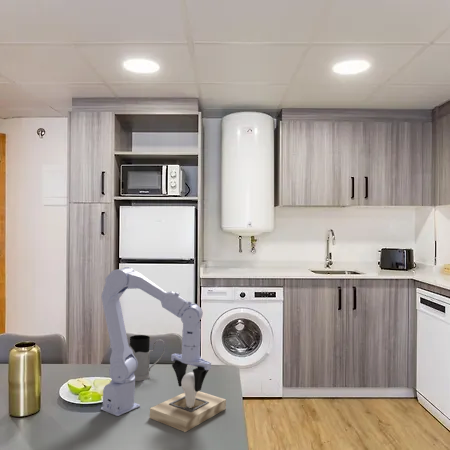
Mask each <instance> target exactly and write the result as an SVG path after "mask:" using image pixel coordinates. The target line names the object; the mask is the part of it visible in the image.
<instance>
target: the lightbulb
mask: <svg viewBox="0 0 450 450" xmlns="http://www.w3.org/2000/svg"><path fill="white" fill-rule="evenodd" d="M181 385H182V386H181V387H182V390H183V391H184V392H185V399H186V406H187V407H186V408H188V409H190V408H191V409H193V408H192V407H193V406H194V402H195V398H196V393H197V392H196V391H195V378H194V373H193V371H190V372H186V374H185V375H184V376H183V378H182V381H181ZM184 392H183V393H184Z"/></svg>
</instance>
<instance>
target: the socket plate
mask: <svg viewBox="0 0 450 450" xmlns="http://www.w3.org/2000/svg"><path fill="white" fill-rule="evenodd" d="M226 406H227V399H225V398H223V397H220V396H215V395H213V394H210V393H207V392H203V391H201V390H200V391H198V392H197V393H196V398H195V402H194V406H193V407H192V408H191V409H190V408H188V407H187V406H186V399H185V392H183V393H180V394H178V395H176V396H173V397H172V398H169V399H167V400H165V401H163V402H161V403H158V404H156V405H154V406H152V407H150V408H149V419H150V420H153V421H156V422H158V423H161V424H164V425H166V426H168V427H172V428H174V429H175V430H176V429H177V430H179V431H182V432H184V433H186V432H188V431H190V430H192V429H194V428H195V427H197V426H198V425H200V424H202V423H204V422H205V421H207V420H209V419H211V418H212V417H214V416H216V415H218V414H219V413H221V412H223V411H225V410H226Z"/></svg>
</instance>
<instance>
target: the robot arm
mask: <svg viewBox="0 0 450 450" xmlns="http://www.w3.org/2000/svg"><path fill="white" fill-rule="evenodd" d="M104 280H105V284H104V287H103V290H102V293H101V302H102V306H103V307H102V308H103V312H104V313H103V314H104V317H105V322H106V327H107V332H108V338H109V343H110V347H111V348H110V349H111V353H110V358H109V365H110V366H109V369H108V370H109V372H108V374H109V377H110V379H111V381H110V382H109V383H107V384H106V385H105V386H104V387H103V390H102V406H101V408H100V410H102V411H104V412H106V413H108V414H111V415H113V416H116V417H119V416H122V415H124V414H126V413H128V412H130V411H133V410H135V409H137V408H140V407H141V404H139V403H136V402H135V396H136V395H135V392H136V391H135V389H136V388H135V387H136V381H135V375H134V372H135V371H136V369H137V367H138V361H137V359H136V358H135V356H134V355H133V351H132V349H131V348H130V347H129V340H128V336H127V330H126V326H125V320H124V315H123V309H122V306H121V301H120V300H121V299H120V298H121V297H122V296H123V294H124V293H125V291H126V290H130V289H135V290H137V289H139V290H141V291H142V292H144V293H146V294H148V295H149V296H150V297H153V298H154V299H156V300H158V301H160V303H161V307H162V308H164V309H165V310H167V311H168V312H169V313H171V314H173V315H174V316H175V317H177V318H179V319H180V320H181V322H182V337H181V338H182V339H181V341H182V342H181V353H172V354H171V356H170V357H171V358H170V360H171V361H172V362H173V363H172V364H171V367H172V368H173V371H174V373H175V376H176V380H177V383H178V387H182V385H181V381H182V378H183V376H184V375H185V374H187V368H188V366H189V365H190V366H193V367H196V368H193V369H192V372H193V373H194V378H195V391H196V392H198V391H200V392H201V390H202V386H203V383H204V380H205V378H206V376H207V374H208V372H209V370H211V369H212V362H211V361H208V360H205V359H204V358H202V357H201V336H202V329H201V326H202V324H201V323H202V321H200V320H201V319H203V318H202V317H203V309H202V307H200V305H199V304H197V303H193V302H192V300H189V301H188V300H187V299H185V298H183V297H182V296H180V292H179V291H175V292H174V291H168V292H167V291H166V290H164V289H163V288H162V287H160V286H159V285H157V284H156V283H154V282H153V281H152V280H150V279H149V278H147V277H146V276H144V274H142V273H141V272H139V271H137V270H135V269H133V268H132V267H129V266H126V267H123V268H119V269H114V270H112V271H110V273H109V274H108V275H107V276H106V277H105V278H104Z"/></svg>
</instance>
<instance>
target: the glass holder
mask: <svg viewBox="0 0 450 450" xmlns="http://www.w3.org/2000/svg"><path fill="white" fill-rule="evenodd" d="M150 339H151V336H149V335H145V334H135V335H132V336H130V337H129V343H128V345H129V347H130V348H131V349H132V351H133V355H134V356H135V358H136V359H137V361H138V367H137V369H136V371H135V372H134V375H135V382H136V381H138V382H139V381H145V380H148V379H150V377H151V374H150V372H151V369H152V368H153V367H154V366H155V365H156V364H157V363H158V362H159V361H161V360H162V357H163V356H164V354H165V350H166V343H165V341H164V340H162V339H157V340H155V341H154V342H153V349H152V350H151V349H150V347H151V346H150V342H151V341H150ZM159 341H160V342H162V343H163V351H162V353H161V356H160V357H159V358H158V359H157V360H156V361H155V362H154V363H153V364H152V365H151V366H150V358H151V357H150V355H151V354H150V353H151V352H153V351H154V350H155V346H156V344H157V343H158V342H159Z"/></svg>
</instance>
